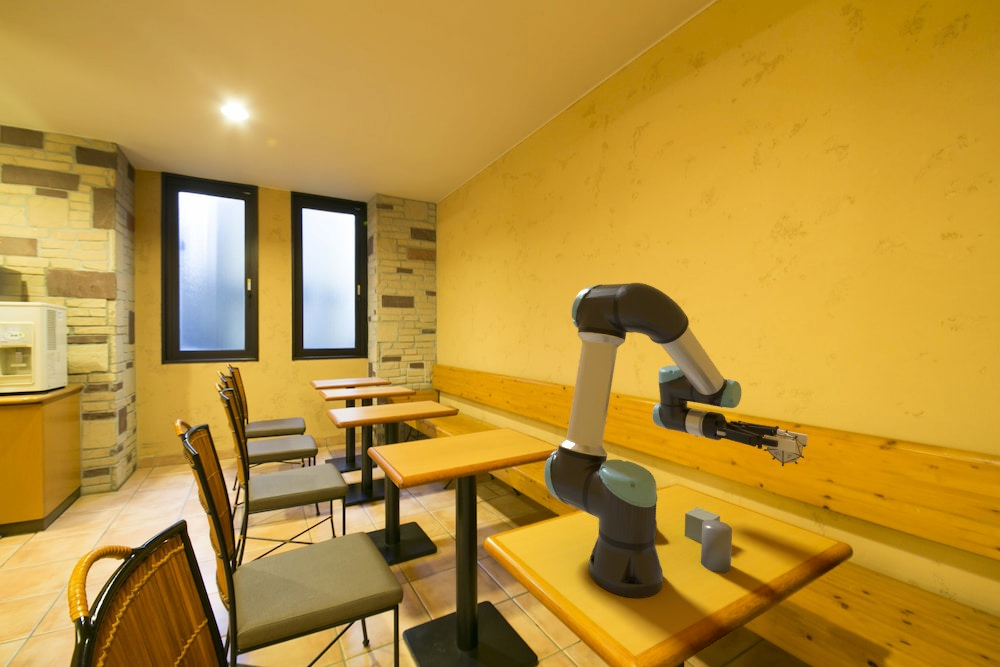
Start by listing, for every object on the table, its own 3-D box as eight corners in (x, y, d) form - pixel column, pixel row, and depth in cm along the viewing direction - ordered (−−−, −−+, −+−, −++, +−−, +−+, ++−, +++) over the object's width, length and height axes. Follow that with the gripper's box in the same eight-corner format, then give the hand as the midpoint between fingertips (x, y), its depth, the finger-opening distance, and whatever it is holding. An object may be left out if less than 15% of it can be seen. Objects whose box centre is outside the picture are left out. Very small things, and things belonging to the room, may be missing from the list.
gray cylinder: (695, 563, 96) (697, 524, 96) (708, 555, 100) (710, 517, 100) (723, 576, 92) (724, 535, 91) (735, 566, 95) (736, 527, 95)
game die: (792, 480, 105) (820, 456, 99) (758, 466, 106) (783, 441, 100) (785, 453, 112) (810, 429, 106) (753, 440, 113) (776, 416, 107)
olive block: (684, 536, 109) (685, 513, 109) (696, 529, 112) (697, 507, 112) (707, 546, 104) (708, 522, 104) (719, 538, 108) (720, 515, 108)
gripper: (723, 431, 127) (814, 450, 109) (687, 443, 114) (784, 468, 96) (723, 406, 126) (815, 422, 109) (688, 416, 114) (786, 435, 96)
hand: (800, 443), depth 102 cm, fingers closed on game die, 8 cm apart
